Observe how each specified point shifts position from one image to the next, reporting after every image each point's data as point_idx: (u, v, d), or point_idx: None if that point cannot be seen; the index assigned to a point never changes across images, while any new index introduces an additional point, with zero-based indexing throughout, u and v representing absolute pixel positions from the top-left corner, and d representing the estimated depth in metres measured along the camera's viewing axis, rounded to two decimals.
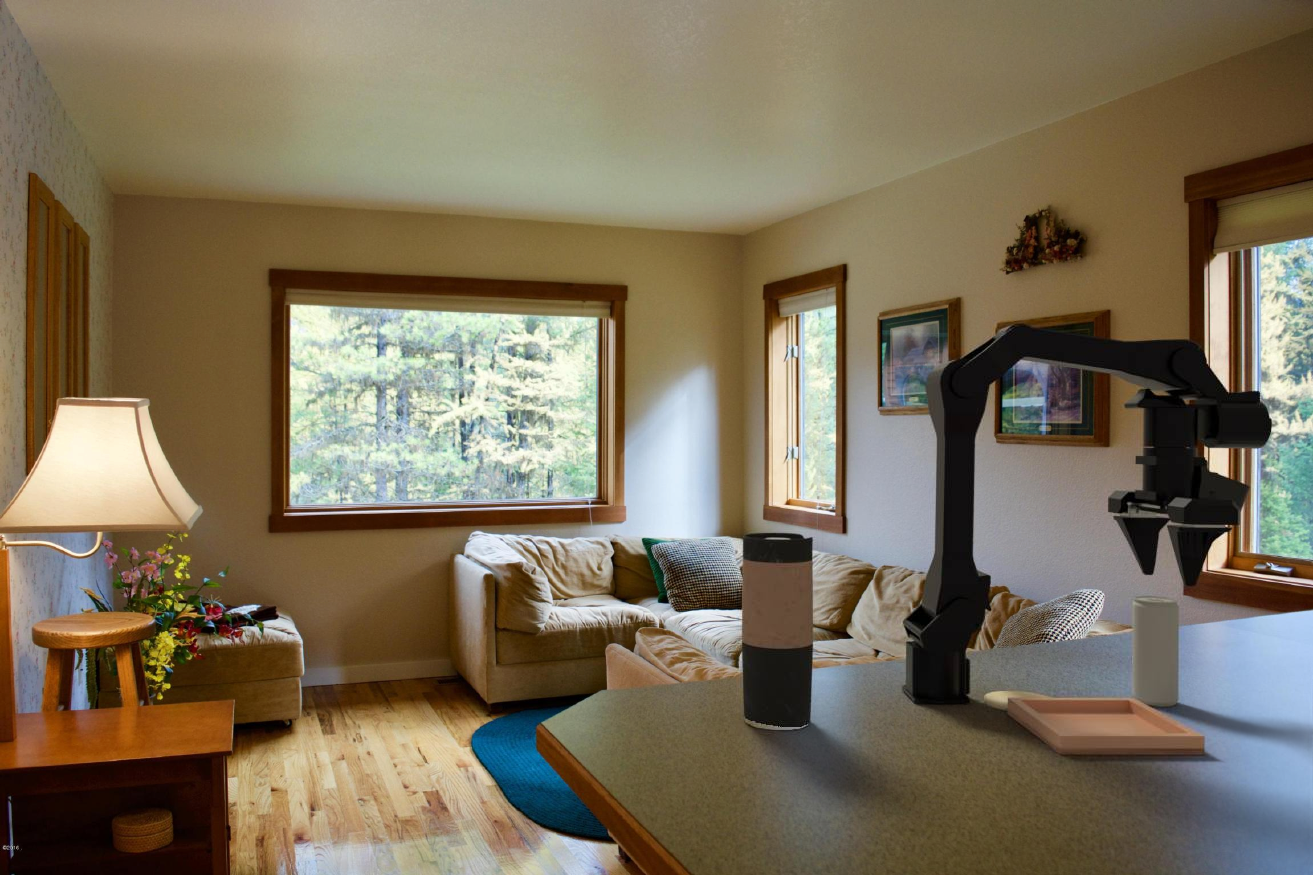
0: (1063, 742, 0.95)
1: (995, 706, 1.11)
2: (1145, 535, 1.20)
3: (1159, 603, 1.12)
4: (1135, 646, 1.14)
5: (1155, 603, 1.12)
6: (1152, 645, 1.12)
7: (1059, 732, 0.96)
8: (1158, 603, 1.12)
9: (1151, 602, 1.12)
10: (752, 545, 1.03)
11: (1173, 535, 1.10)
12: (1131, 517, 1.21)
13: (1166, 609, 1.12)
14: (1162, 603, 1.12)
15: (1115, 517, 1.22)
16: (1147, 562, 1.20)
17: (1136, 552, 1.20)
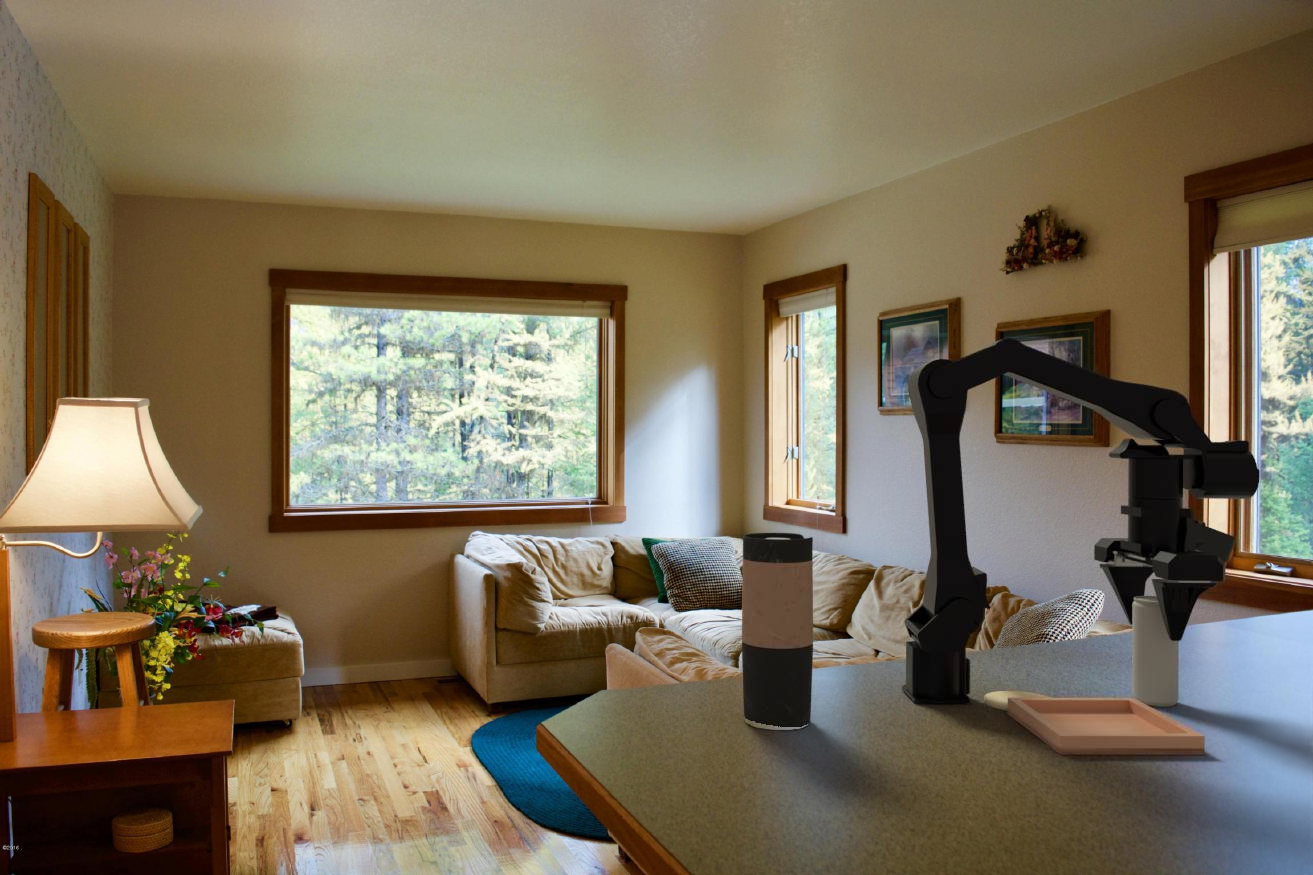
0: (1063, 742, 0.95)
1: (995, 706, 1.11)
2: (1131, 584, 1.19)
3: None
4: (1135, 646, 1.14)
5: (1155, 603, 1.12)
6: (1152, 645, 1.12)
7: (1059, 732, 0.96)
8: (1158, 603, 1.12)
9: (1151, 602, 1.12)
10: (752, 545, 1.03)
11: (1158, 590, 1.08)
12: (1117, 566, 1.19)
13: None
14: None
15: (1101, 565, 1.21)
16: None
17: (1122, 602, 1.19)
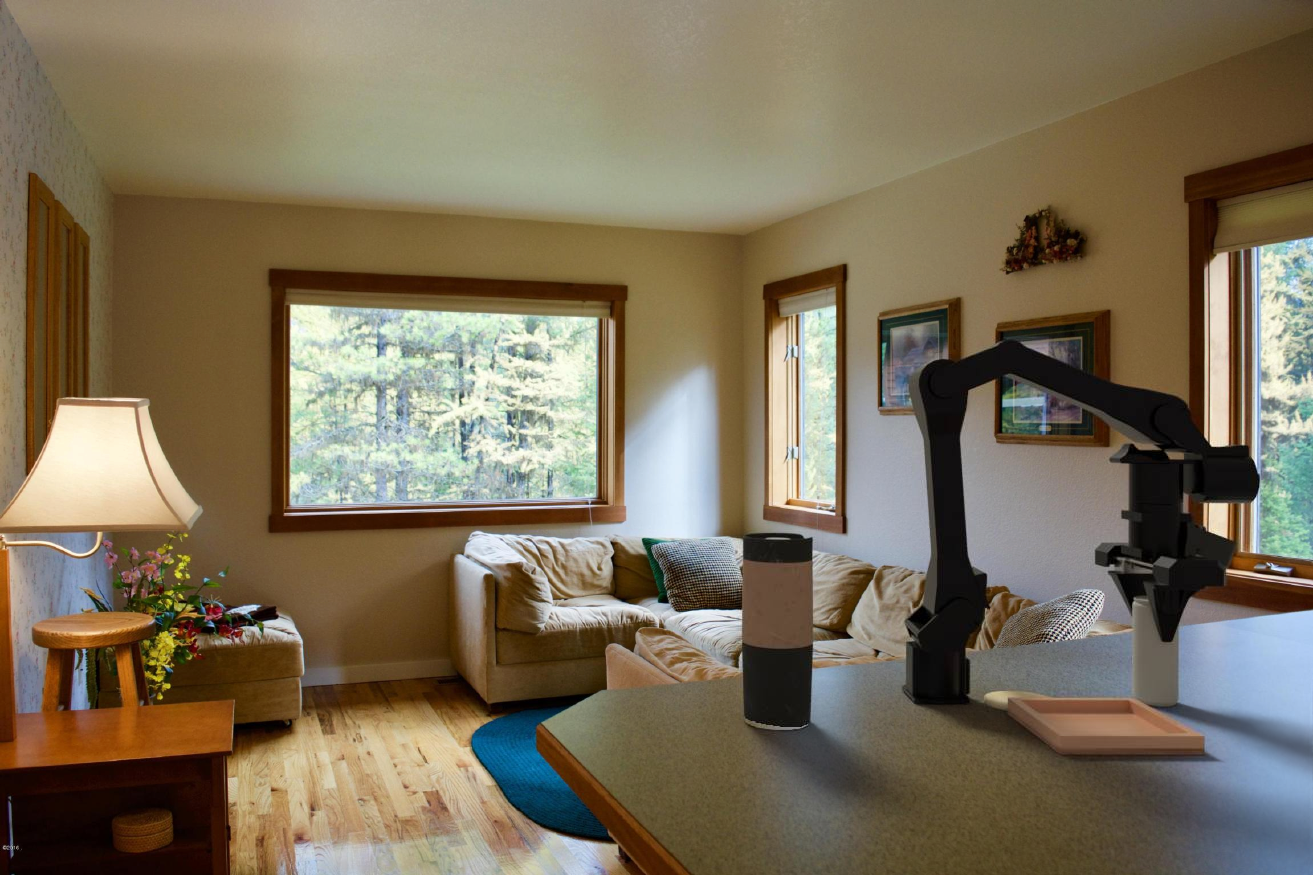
0: (1063, 742, 0.95)
1: (995, 706, 1.11)
2: (1140, 592, 1.17)
3: None
4: (1135, 646, 1.14)
5: None
6: (1152, 645, 1.12)
7: (1059, 732, 0.96)
8: None
9: None
10: (752, 545, 1.03)
11: (1149, 592, 1.10)
12: (1126, 573, 1.17)
13: None
14: None
15: (1109, 572, 1.19)
16: None
17: (1131, 609, 1.17)
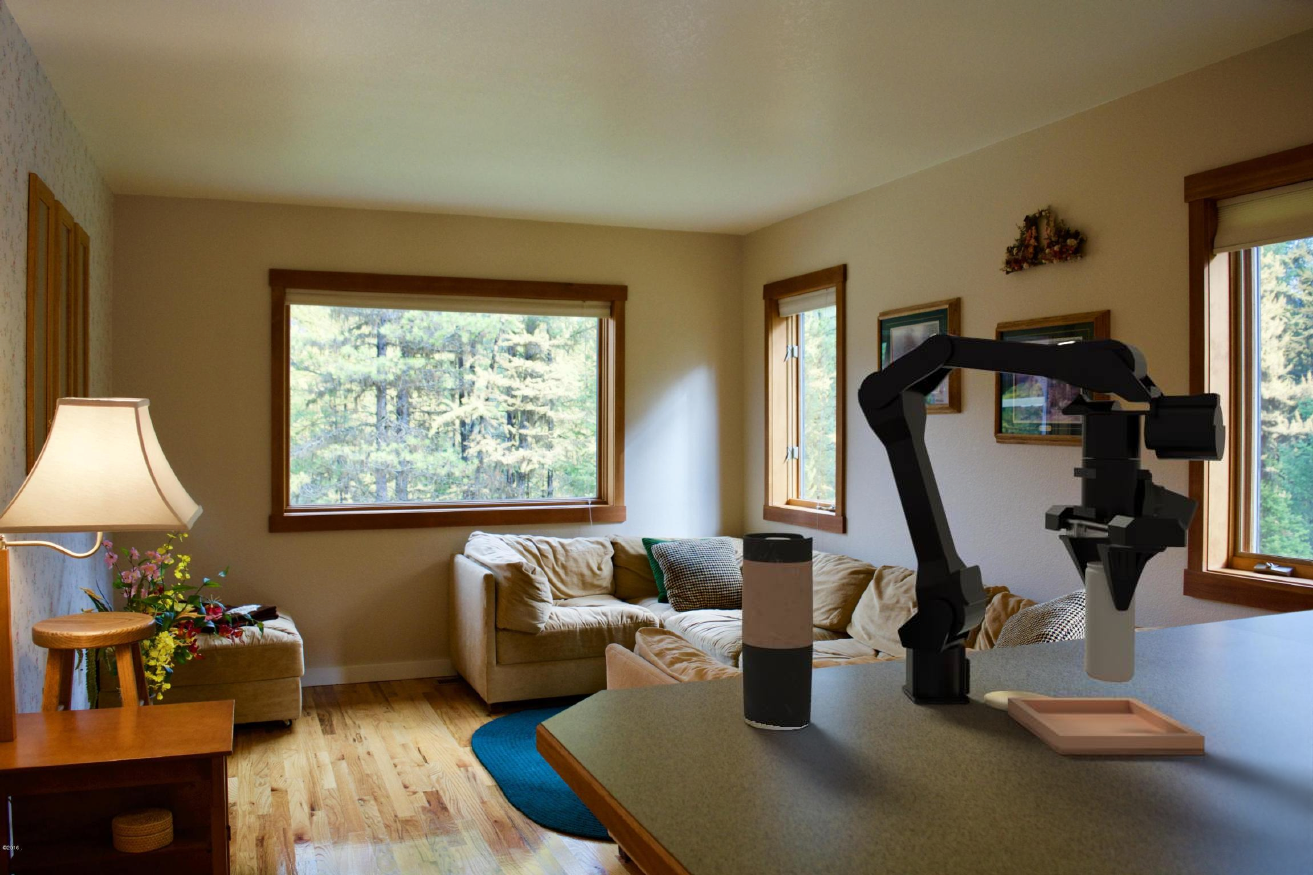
0: (1063, 742, 0.95)
1: (995, 706, 1.11)
2: (1094, 557, 1.07)
3: None
4: (1088, 617, 1.04)
5: None
6: (1106, 615, 1.02)
7: (1059, 732, 0.96)
8: None
9: None
10: (752, 545, 1.03)
11: (1103, 555, 1.00)
12: (1078, 537, 1.07)
13: None
14: None
15: (1061, 537, 1.09)
16: None
17: (1084, 576, 1.06)
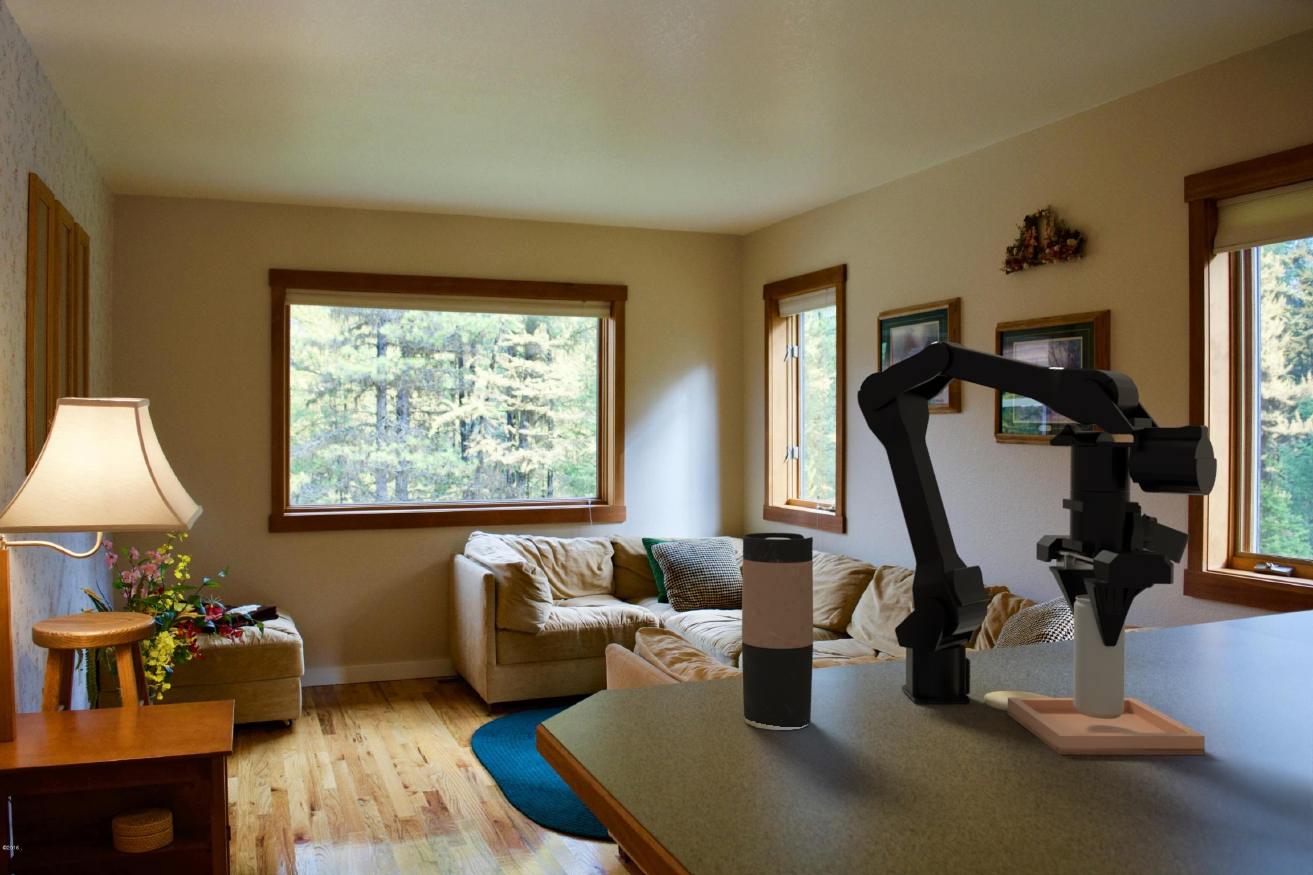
0: (1063, 742, 0.95)
1: (995, 706, 1.11)
2: (1084, 590, 1.05)
3: None
4: (1076, 651, 1.02)
5: None
6: (1094, 650, 1.00)
7: (1059, 732, 0.96)
8: None
9: None
10: (752, 545, 1.03)
11: (1090, 590, 0.98)
12: (1068, 569, 1.05)
13: None
14: None
15: (1051, 568, 1.07)
16: None
17: (1073, 609, 1.05)
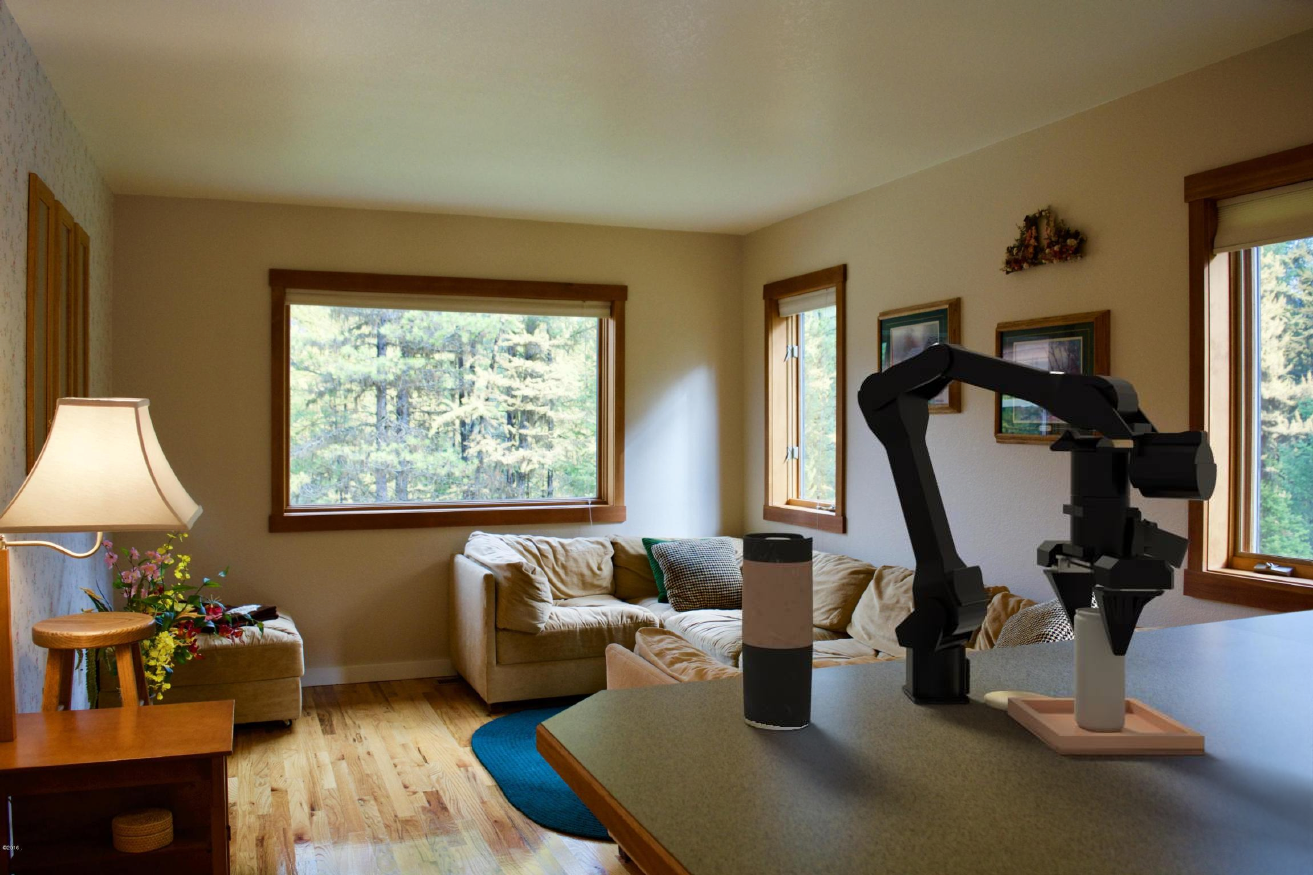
0: (1063, 742, 0.95)
1: (995, 706, 1.11)
2: (1077, 593, 1.07)
3: None
4: (1077, 665, 1.02)
5: (1098, 616, 1.00)
6: (1094, 664, 1.00)
7: (1059, 732, 0.96)
8: None
9: (1094, 615, 1.00)
10: (752, 545, 1.03)
11: (1099, 599, 0.96)
12: (1061, 572, 1.07)
13: None
14: None
15: (1045, 571, 1.09)
16: None
17: (1067, 612, 1.06)
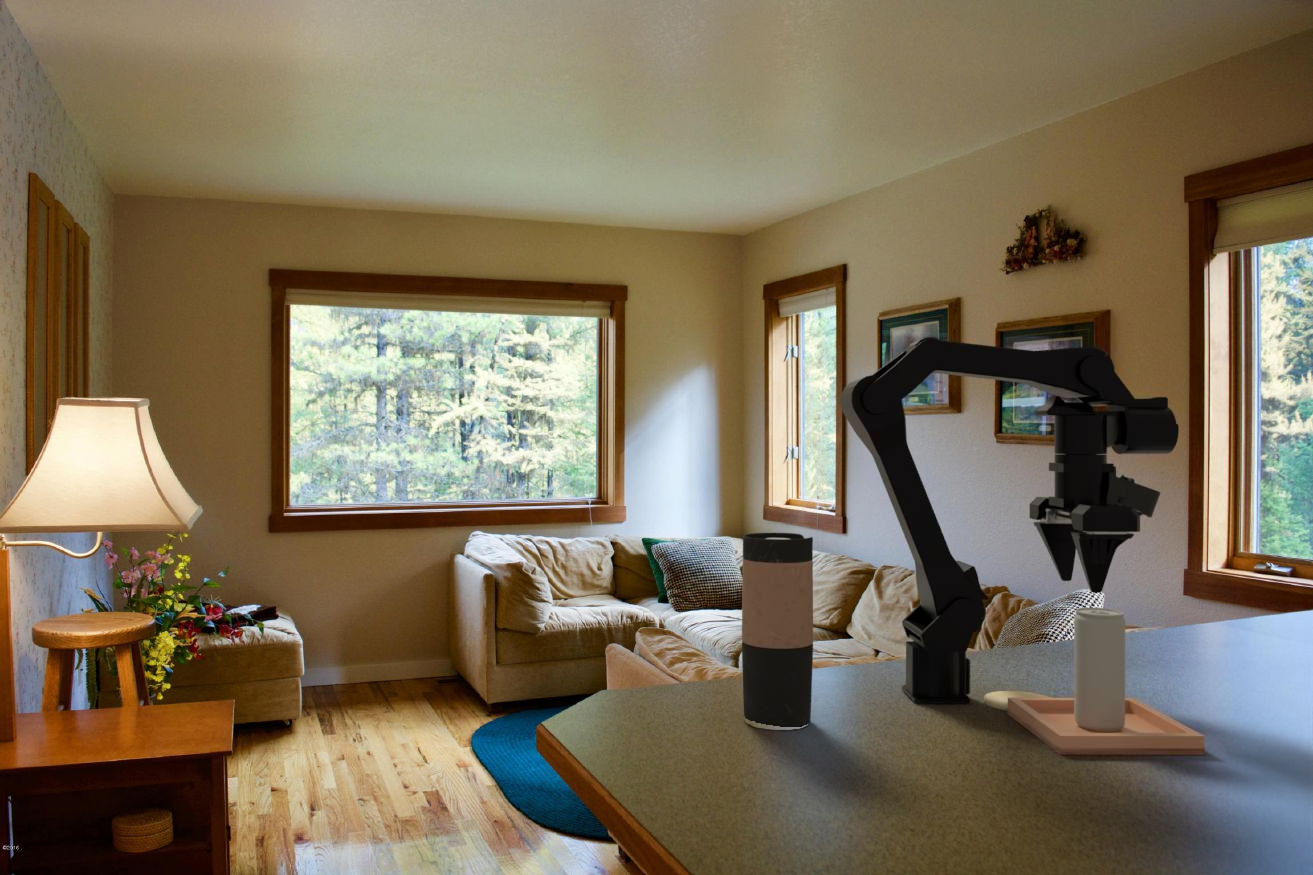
0: (1063, 742, 0.95)
1: (995, 706, 1.11)
2: (1063, 541, 1.21)
3: (1103, 616, 1.00)
4: (1077, 665, 1.02)
5: (1098, 616, 1.00)
6: (1095, 663, 1.00)
7: (1059, 732, 0.96)
8: (1101, 616, 1.00)
9: (1094, 615, 1.00)
10: (752, 545, 1.03)
11: (1076, 542, 1.10)
12: (1049, 523, 1.22)
13: (1110, 623, 1.00)
14: (1106, 616, 1.00)
15: (1035, 523, 1.23)
16: (1065, 568, 1.21)
17: (1054, 558, 1.21)
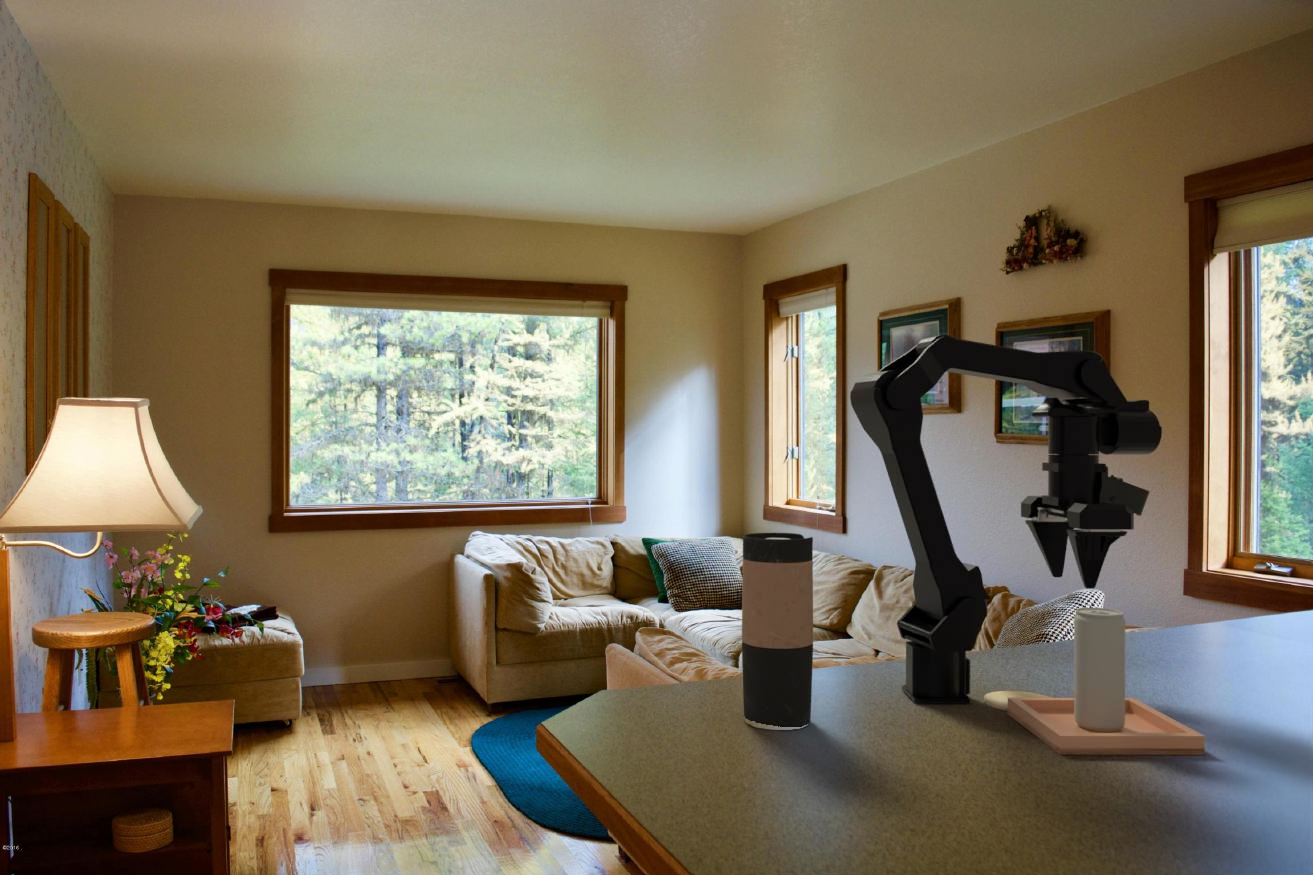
0: (1063, 742, 0.95)
1: (995, 706, 1.11)
2: (1054, 539, 1.25)
3: (1102, 616, 1.00)
4: (1077, 665, 1.02)
5: (1098, 616, 1.00)
6: (1094, 664, 1.00)
7: (1059, 732, 0.96)
8: (1101, 616, 1.00)
9: (1094, 615, 1.00)
10: (752, 545, 1.03)
11: (1072, 539, 1.14)
12: (1041, 521, 1.25)
13: (1110, 623, 1.00)
14: (1106, 616, 1.00)
15: (1026, 521, 1.27)
16: (1056, 565, 1.24)
17: (1045, 555, 1.25)
